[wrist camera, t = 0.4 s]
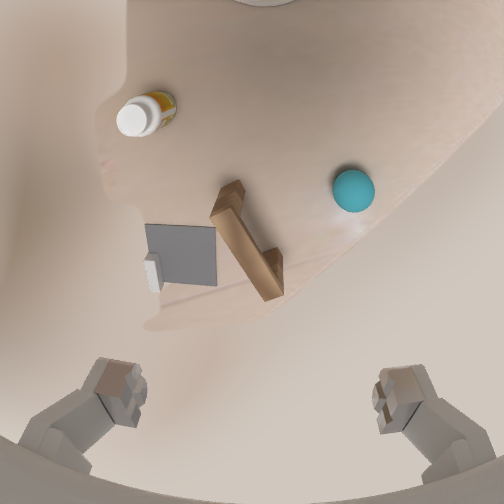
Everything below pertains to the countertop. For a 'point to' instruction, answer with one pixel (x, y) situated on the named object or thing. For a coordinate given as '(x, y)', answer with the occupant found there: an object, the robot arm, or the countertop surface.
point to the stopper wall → (153, 272)
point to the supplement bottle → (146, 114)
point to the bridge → (247, 243)
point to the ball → (353, 191)
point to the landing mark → (184, 253)
